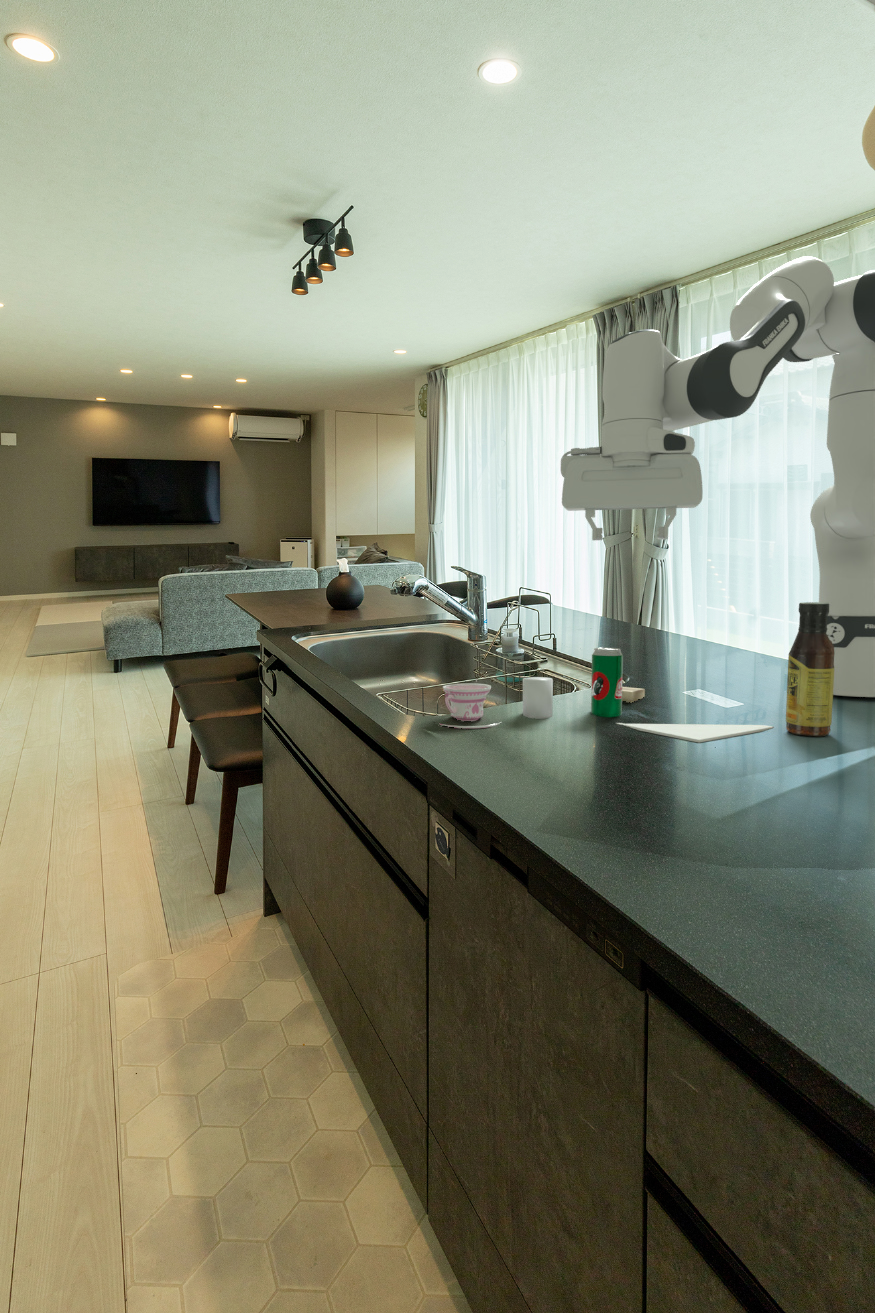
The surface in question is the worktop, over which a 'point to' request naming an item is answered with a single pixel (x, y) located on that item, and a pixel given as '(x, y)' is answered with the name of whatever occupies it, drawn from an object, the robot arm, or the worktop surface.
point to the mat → (698, 730)
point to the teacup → (466, 702)
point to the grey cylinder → (538, 697)
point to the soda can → (606, 682)
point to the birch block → (632, 694)
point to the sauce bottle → (810, 674)
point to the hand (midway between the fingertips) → (629, 539)
